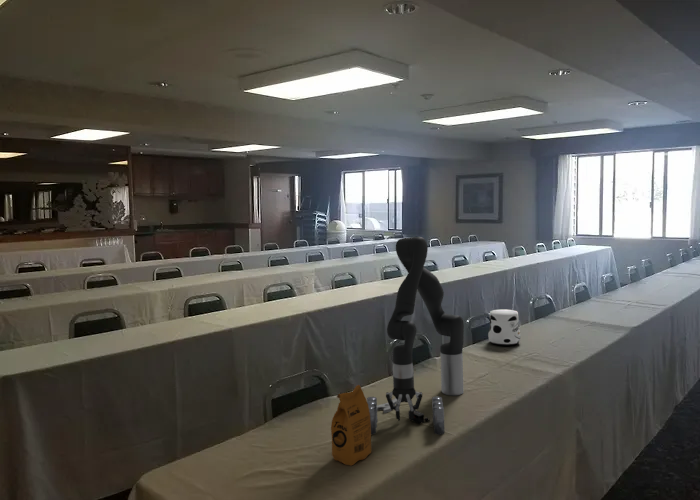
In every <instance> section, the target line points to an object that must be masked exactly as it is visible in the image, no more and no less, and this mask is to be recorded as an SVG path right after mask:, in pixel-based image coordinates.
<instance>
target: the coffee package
mask: <svg viewBox="0 0 700 500" xmlns="http://www.w3.org/2000/svg"><path fill="white" fill-rule="evenodd" d="M336 398H337V399H338V400H339V403H338V406H337V410H336V411H335V413H334V415H333V417H332V419H331V425H330V426H331V427H330V431H331V434H330V435H331V456H332V458H333V460H334V461H338V462H339V463H342V464H344V465H346V466H353V465H355V464H356V463H357V462H358V461H362V460H363V461H364V460H365V459H366V458H367V457H368V456H369V455H370V454H372V434H371V423H370V413H369V407H368V403H367V398H366V397H365V394H364V392H363V389H362V387H361V385H360V384H357V385H356V386H355V387H354V388H353V390H352V391H350V392H343V393H338V394H337V395H336Z"/></svg>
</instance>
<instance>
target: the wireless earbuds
mask: <svg viewBox="0 0 700 500" xmlns="http://www.w3.org/2000/svg"><path fill="white" fill-rule="evenodd" d="M408 420H410V409H409V410H408ZM430 421H431V420H430V419H429V418H428V417H427V416H425V413H424V412H420V411H419V410H414V419H412V421H411V422H414V423H416V424H419V425H420V424H423V423H424V422H426V423H428V422H430Z"/></svg>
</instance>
